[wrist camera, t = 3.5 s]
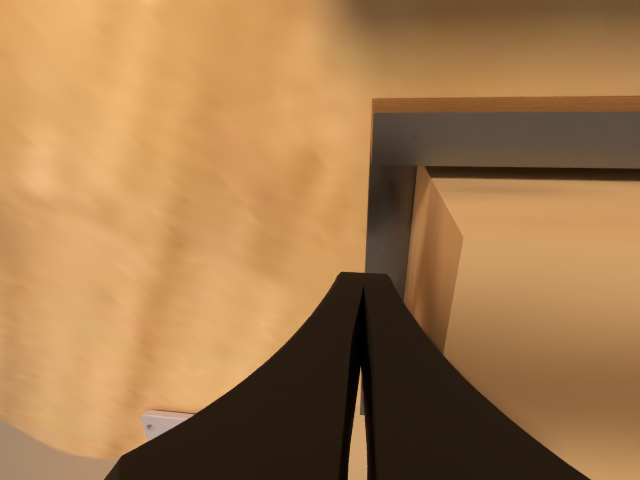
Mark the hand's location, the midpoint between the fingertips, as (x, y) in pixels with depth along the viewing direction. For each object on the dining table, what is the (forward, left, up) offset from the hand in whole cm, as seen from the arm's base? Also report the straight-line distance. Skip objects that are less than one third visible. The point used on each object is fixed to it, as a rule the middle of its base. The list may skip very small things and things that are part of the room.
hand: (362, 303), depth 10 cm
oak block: (0, -5, -3) cm, 6 cm away
